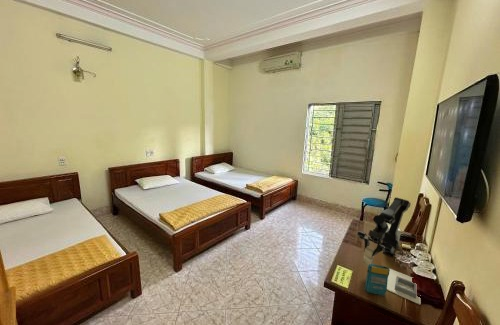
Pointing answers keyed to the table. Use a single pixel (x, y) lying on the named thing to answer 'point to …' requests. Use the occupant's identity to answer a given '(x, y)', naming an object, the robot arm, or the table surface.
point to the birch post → (368, 255)
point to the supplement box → (397, 232)
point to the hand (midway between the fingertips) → (368, 254)
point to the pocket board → (402, 286)
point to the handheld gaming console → (377, 279)
